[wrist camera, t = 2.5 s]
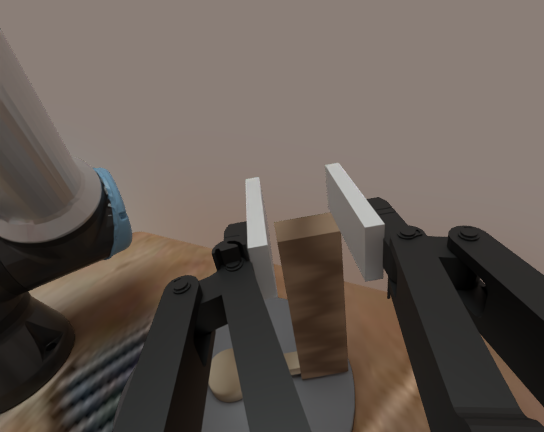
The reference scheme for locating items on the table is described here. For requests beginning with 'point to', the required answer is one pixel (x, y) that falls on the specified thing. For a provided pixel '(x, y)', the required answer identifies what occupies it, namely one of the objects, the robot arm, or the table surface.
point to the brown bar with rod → (303, 304)
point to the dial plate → (312, 391)
